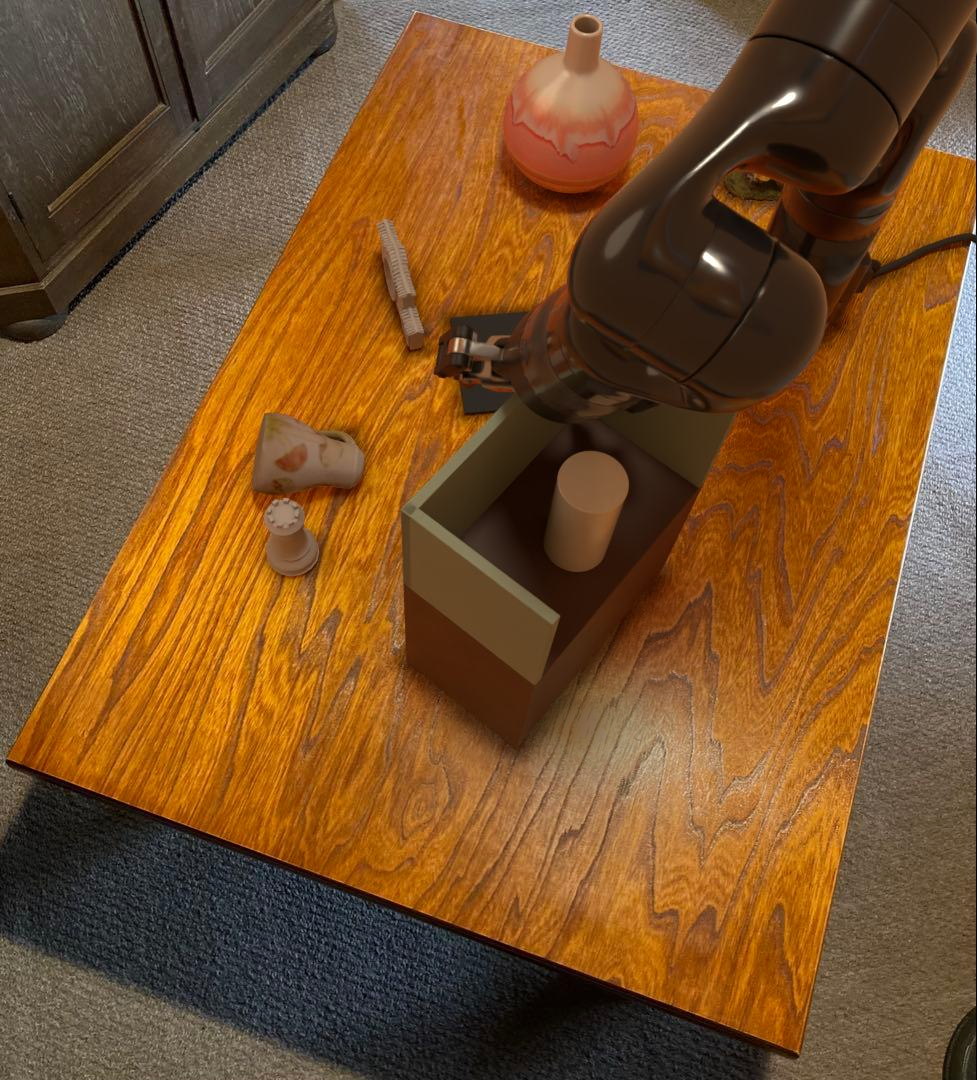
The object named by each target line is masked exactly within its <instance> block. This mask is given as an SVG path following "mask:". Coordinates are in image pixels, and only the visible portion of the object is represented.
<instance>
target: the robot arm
mask: <svg viewBox="0 0 977 1080" xmlns="http://www.w3.org/2000/svg"><path fill="white" fill-rule="evenodd" d="M976 9H977V0H771V2H770V4H769V5H768V7H767V9H766V10H765V12H764V14H763V15H762V17H761V19H760V20H759V22H758V23H757V25H756V27H755V29H754V30H753V31H752V34H751V35H750V37H749V39H748V41H747V42H746V44H745V45H744V47H743V48H742V50H741V52H739V55H738V56H737V58H736V60H735V61H734V63H733V64H732V66H731V67H730V69H729V70H728V72H727V73H726V75H725V76H724V77H723V79H722V80H721V82H720V83H719V85H717V87H716V89H715V90H714V91H713V93H712V94H711V95H710V96H709V98H708V99H707V100H706V102H705V103H704V104H703V105H702V106H701V108H700V109H699V110H698V111H697V112H696V114H695V115H694V116H693V117H692V118H691V119H690V120H689V121H688V122H687V123H686V124H685V126H684V127H683V128H682V129H681V130H680V131H679V132H678V133H677V135H676V136H675V137H674V138H673V139H671V141H670V142H669V143H668V144H667V145H666V146H664V148H662V150H661V151H660V152H658V154H657V155H656V156H654V157H653V158H652V159H651V160H650V161H649V162H647V164H646V165H645V166H643V168H642V169H640V170H639V171H638V172H637V173H636V174H634V176H633V177H632V178H631V179H629V180H628V181H627V182H626V183H625V184H624V185H623V186H622V187H621V188H620V189H618V191H616V192H615V193H614V194H613V195H612V196H610V198H609V199H608V200H607V201H606V202H605V203H604V204H603V206H601V208H600V209H598V211H597V212H596V213H595V214H594V215H593V216H592V217H591V218H590V220H589V221H588V222H587V224H586V225H585V226H584V227H583V228H582V230H581V232H580V234H579V235H578V237H577V239H576V241H575V243H574V244H573V247H572V250H571V253H570V256H569V259H568V264H567V269H566V283H565V284H563V285H561V286H559V287H558V288H557V289H556V290H554V291H552V292H551V293H550V294H549V295H548V296H547V297H546V298H544V299H543V300H542V301H540V302H539V303H538V304H537V305H535V306H534V307H533V308H532V309H531V310H529V311H530V312H529V313H527V314H526V315H525V316H524V317H523V319H522V320H521V321H520V322H519V324H518V325H517V326H516V328H515V330H514V331H513V333H512V335H498V336H491V337H490V338H489V339H488V340H487V342H486V343H482V342H477V341H476V339H477V333H475V332H474V329H473V328H471V327H469V326H468V325H464V324H461V325H456V326H454V327H453V328H451V327H450V329H448V330H447V331H446V332H444V333H443V334H442V335H440V336H439V337H438V343H437V344H438V345H437V346H438V347H437V354H436V355H437V356H436V361H435V366H434V368H433V369H434V370H433V375H434V376H437V377H438V378H440V379H447V378H452V379H453V380H455V381H458V382H459V387H463V388H468V389H471V388H472V387H474V386H475V385H477V384H481V385H482V387H484V388H487V389H490V390H493V391H496V392H516V393H517V395H518V397H519V398H520V399H521V401H522V402H523V403H524V404H525V405H526V406H527V407H528V408H529V409H530V410H531V411H533V412H534V413H535V414H537V415H539V416H540V417H542V418H544V419H547V420H549V421H552V422H556V423H562V424H577V423H582V422H586V421H590V420H593V419H596V418H600V417H603V416H606V415H610V414H614V413H616V412H619V411H622V410H625V411H628V413H631V414H635V412H636V413H640V412H643V411H645V410H648V409H651V408H653V407H656V406H659V405H660V404H663V405H668V406H673V407H677V408H682V409H687V410H692V411H697V412H704V413H732V412H737V411H739V412H740V411H744V410H747V409H750V408H753V407H755V406H759V405H760V404H762V403H765V402H766V401H768V400H770V399H772V398H774V397H775V396H777V395H778V394H780V393H781V392H782V391H784V390H785V389H787V387H789V386H790V385H792V383H793V382H794V381H796V379H797V378H799V376H800V375H801V374H802V373H803V372H804V371H805V369H807V367H808V366H809V364H810V363H811V362H812V360H813V358H814V357H815V355H816V354H817V352H818V350H819V347H820V345H821V344H822V340H823V337H824V335H825V331H826V329H827V328H830V327H836V326H837V325H838V324H839V322H840V320H841V318H842V317H843V315H844V313H845V311H846V309H847V307H848V305H849V304H850V302H851V300H852V298H853V296H854V295H855V294H856V295H857V294H863V293H864V291H865V289H866V288H867V286H868V284H869V282H870V280H871V279H872V278H876V277H879V276H881V275H884V274H886V273H889V272H891V271H893V270H896V269H897V268H899V267H902V266H905V265H906V264H909V263H910V262H912V261H914V260H916V259H917V258H919V257H921V256H923V255H926V254H928V253H931V252H934V251H937V250H939V249H942V248H945V247H947V246H950V245H954V244H958V243H961V242H972V243H973V244H975V245H977V234H975V233H971V232H965V233H960V234H959V233H958V234H955V235H951V236H949V237H945V238H943V239H939V240H937V241H934V242H931V243H928V244H926V245H925V244H924V246H921V247H919V248H917V249H915V250H913V251H912V252H909V253H908V254H906V255H904V256H901V257H900V258H896V259H895V260H893V261H891V262H888V263H886V264H884V265H882V263H881V261H879V260H878V259H876V258H875V259H874V258H872V256H871V254H870V251H869V250H870V247H871V246H872V244H873V243H874V240H875V238H876V237H877V235H878V233H879V231H880V229H881V227H882V225H883V224H884V222H885V220H886V218H887V216H888V214H889V212H890V210H891V208H892V207H893V205H894V204H895V201H896V200H897V198H898V196H899V194H900V193H901V190H902V189H903V187H904V184H905V182H906V180H907V178H908V176H909V174H910V173H911V171H912V169H913V168H914V165H915V164H916V162H917V160H918V158H919V156H920V155H921V153H922V151H923V150H924V148H925V146H926V145H927V143H928V142H929V140H930V138H931V137H932V135H933V134H934V132H935V130H936V129H937V127H938V126H939V124H940V123H941V122H942V120H943V118H944V116H945V115H946V114H947V112H948V110H949V109H950V108H951V105H952V104H953V102H954V101H955V99H956V97H957V96H958V94H959V92H960V91H961V89H962V87H963V86H964V84H965V81H966V79H967V77H968V75H969V73H970V71H971V69H972V66H973V64H974V62H975V58H976V56H977V22H976V21H975V20H974V19H972V18H971V17H972V15H973V14H974V12H975V11H976ZM736 171H745V172H750V173H755V174H758V175H761V176H764V177H767V178H770V179H773V180H775V181H778V182H781V183H784V186H783V188H782V191H781V193H780V196H779V198H778V199H777V200H776V203H775V205H774V208H773V210H772V213H771V215H770V218H769V220H768V222H767V225H766V228H765V229H764V228H762V227H761V226H759V225H758V224H757V223H755V222H753V221H751V220H750V219H749V218H747V217H746V216H744V215H742V214H741V213H740V212H738V211H736V210H735V209H734V208H732V207H731V206H730V205H728V204H726V203H724V202H723V201H721V200H720V199H719V198H718V197H716V196H715V194H714V191H715V189H716V188H717V187H718V185H719V184H720V182H721V181H722V180H724V179H725V176H726V175H727V174H729V173H732V172H736ZM482 361H484V368H483V371H482V372H481V373H480V369H481V363H482ZM503 377H505V378H507V379H509V380H510V381H504V380H503ZM460 381H461V383H460Z"/></svg>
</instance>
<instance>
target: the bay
mask: <svg viewBox="0 0 977 1080" xmlns="http://www.w3.org/2000/svg"><path fill="white" fill-rule="evenodd" d="M739 413H740V411H737V412H732V413H704V412H697V411H692V410H687V409H682V408H677V407H673V406H668V405H663V404H660V405H659V406H656V407H653V408H651V409H648V410H645V411H643V412H640V413H636V412H635V414H631V413H628V411H625V410H622V411H619V412H616V413H614V414H610V415H606V416H603V417H600V418H596V419H593V420H590V421H586V422H582V423H577V424H562V423H556V422H552V421H549V420H547V419H544V418H542V417H540V416H539V415H537V414H535V413H534V412H533V411H531V410H530V409H529V408H528V407H527V406H526V405H525V404H524V403H523V402H522V401H521V399H520V398H519V397H518V395H517V393H516V392H515V393H514V394H513V395H512V396H511V397H510V398H509V399H508V400H507V401H506V402H505V403H504V404H503V405H502V406H501V407H500V408H499V409H498V410H497V411H496V412H495V413H492V415H491V416H490V417H489V418H488V419H487V420H486V421H485V422H484V423H483V424H482V426H480V427H479V428H478V430H476V432H474V433H473V434H472V436H471V437H470V438H468V440H466V441H465V443H464V444H463V445H462V446H460V448H459V449H458V450H457V451H456V452H455V453H454V454H453V455H451V457H450V458H449V459H448V460H447V461H446V462H445V463H444V464H443V465H442V466H441V467H440V468H439V469H438V470H437V471H436V472H435V474H434V475H432V476H431V477H430V478H429V479H428V481H426V482H425V484H423V486H422V487H421V488H420V489H419V490H418V491H416V493H414V495H412V497H411V498H410V499H409V500H408V501H406V503H405V504H404V505H403V506H402V507H401V508H400V529H401V530H400V531H401V532H400V533H401V558H402V560H401V561H402V583H403V609H404V612H403V613H404V615H403V616H404V638H405V639H404V641H405V662H406V663H407V664H408V665H410V666H411V667H412V668H413V669H415V670H416V671H417V672H419V674H421V675H422V676H423V677H425V678H426V679H427V680H428V681H429V682H430V683H432V684H433V685H434V686H436V687H437V688H438V689H439V690H440V691H442V692H443V693H444V694H446V695H447V696H448V697H450V698H451V699H452V700H453V701H454V702H455V703H457V704H458V705H459V706H461V707H462V708H463V709H464V710H466V711H467V712H468V713H469V714H471V715H472V716H473V717H474V718H476V719H477V720H478V721H479V722H481V723H482V724H483V725H484V726H486V727H487V728H488V729H489V730H491V732H493V733H494V734H496V735H497V736H498V737H499V738H500V739H501V740H503V741H504V742H505V743H506V744H508V745H509V746H510V747H512V748H513V749H514V750H517V749H518V748H519V746H520V745H521V744H522V743H523V742H524V740H526V739H527V737H528V736H529V734H530V733H531V732H532V731H533V730H534V728H535V727H536V726H537V724H538V723H539V722H540V721H541V720H542V719H543V717H544V716H545V714H546V713H547V712H548V711H549V710H550V709H551V707H552V706H553V705H554V704H555V702H556V701H557V700H559V697H560V696H561V695H562V694H563V693H564V692H565V690H566V689H567V688H568V687H569V685H570V684H571V683H572V682H573V680H574V679H575V678H576V677H577V676H578V674H579V673H580V672H581V671H582V670H583V668H584V667H585V666H586V665H587V663H588V662H589V661H590V660H591V658H592V657H593V656H594V655H595V653H597V651H598V650H599V649H600V647H601V646H602V645H603V644H604V642H605V641H606V640H607V639H608V637H610V635H611V634H612V633H613V631H614V630H615V629H616V628H617V627H618V626H619V624H620V623H621V622H622V621H623V619H624V618H625V617H626V616H627V614H628V613H629V612H630V611H631V610H632V609H633V607H634V606H635V605H636V603H637V602H638V601H639V600H640V598H641V597H642V596H643V595H644V594H645V592H646V591H647V590H648V589H649V587H651V585H652V584H653V583H654V581H655V580H656V579H657V578H658V577H659V575H660V574H661V573H662V571H663V569H664V567H665V565H666V564H667V561H668V559H669V558H670V555H671V553H672V551H673V548H674V547H675V544H676V542H677V541H678V538H679V536H680V534H681V532H682V530H683V527H684V526H685V524H686V522H687V519H688V518H689V515H690V514H691V512H692V510H693V507H694V505H695V503H696V501H697V499H698V497H699V495H700V492H701V491H702V488H703V487H704V484H705V482H706V481H707V480H708V479H707V478H708V477H709V474H710V472H711V470H712V469H713V466H714V464H715V462H716V460H717V458H718V455H719V453H720V452H721V450H722V448H723V446H724V443H725V441H726V439H727V438H728V436H729V433H730V431H731V429H732V427H733V425H734V422H735V421H736V419H737V417H738V415H739ZM584 451H597V452H602V453H605V454H607V455H610V456H611V457H613V458H614V459H616V460H617V461H618V462H619V463H620V464H621V465H622V466H623V468H624V469H625V471H626V473H627V476H628V480H629V490H628V494H627V496H626V499H625V502H624V505H623V508H622V510H621V513H620V516H619V519H618V522H617V524H616V527H615V530H614V533H613V535H612V538H611V541H610V544H609V547H608V549H607V552H606V555H605V557H604V559H603V560H602V561H601V562H600V563H599V564H598V565H597V566H596V567H594V568H592V569H590V570H587V571H583V572H571V571H567V570H564V569H562V568H560V567H558V566H557V565H555V564H554V563H553V562H552V561H551V560H550V559H549V557H548V556H547V554H546V552H545V549H544V545H543V537H544V533H545V528H546V524H547V520H548V515H549V511H550V507H551V502H552V498H553V494H554V489H555V485H556V481H557V476H558V472H559V469H560V468H561V466H562V464H563V463H564V462H565V461H566V460H567V459H568V458H569V457H571V456H573V455H574V454H577V453H580V452H584Z"/></svg>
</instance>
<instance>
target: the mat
mask: <svg viewBox="0 0 977 1080" xmlns="http://www.w3.org/2000/svg"><path fill="white" fill-rule="evenodd" d="M530 311H531V310H529V311H517V312H516V311H515V312H504V313H490V314H478V315H466V316H456V317H455V316H451V317H450V318H449V323H450V329H451V328H453V327H454V326H456V325H461V324H464V325H468V326H469V327H471V328H473V329H474V332H475V333H477V339H476V341H477V342H482V343H486V342H487V340H488V339H489V338H490V337H491V336H498V335H512V333H513V331H514V330H515V328H516V326H517V325H518V324H519V322H520V321H521V320H522V319H523V317H524V316H525V315H526V314H527V313H529V312H530ZM483 368H484V361H482V363H481V369H480V373H481V372H482V371H483ZM503 380H504V381H510V380H509V379H507V378H505V377H503ZM460 383H461V381H459V384H460ZM459 387H460V386H459ZM514 393H515V392H496V391H493V390H490V389H487V388H484V387H482V385H481V384H477V385H475V386H474V387H472V388H471V389H468V388H463V387H460V394H461V400H462V401H461V402H462V406H463V413H464V416H474V415H482V414H494V413H495V412H496V411H497V410H498V409H499V408H500V407H501V406H502V405H503V404H504V403H505V402H506V401H507V400H508V399H509V398H510V397H511V396H512V395H513V394H514Z"/></svg>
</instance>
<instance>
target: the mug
mask: <svg viewBox="0 0 977 1080" xmlns="http://www.w3.org/2000/svg"><path fill="white" fill-rule="evenodd" d="M340 440H341V441H340ZM365 463H366V458H365V454H364V451H363V450H362V449H361V448H360V447H359V446H358V445H357V444H356V441H355V439H353V437H352V436H351V435H350V434H348V433H346V432H345V431H343V430H337V429H331V430H330V429H324V430H323V429H322V430H321V429H315V428H313V427H312V426H310V425H308V424H306V423H305V422H303V421H302V420H300V419H298V418H296V417H294V416H292V415H289V414H286V413H280V412H265V413H263V416H262V419H261V423H260V427H259V432H258V437H257V442H256V447H255V454H254V461H253V467H252V475H251V490H252V491H254V492H256V493H260V494H263V495H267V496H285V495H291V494H297V493H299V492H304V491H308V490H312V489H316V488H325V487H326V488H327V487H328V488H339V489H345V490H350V489H352V488H353V487H355V486H357V485H358V484H359V483H360V482H361V480H362V477H363V474H364V470H365Z"/></svg>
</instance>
